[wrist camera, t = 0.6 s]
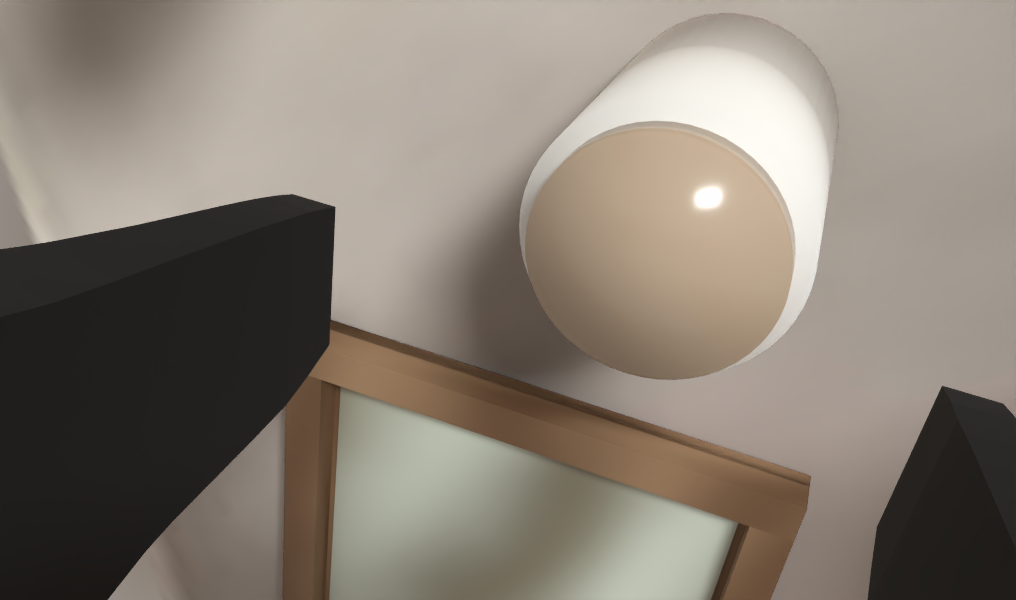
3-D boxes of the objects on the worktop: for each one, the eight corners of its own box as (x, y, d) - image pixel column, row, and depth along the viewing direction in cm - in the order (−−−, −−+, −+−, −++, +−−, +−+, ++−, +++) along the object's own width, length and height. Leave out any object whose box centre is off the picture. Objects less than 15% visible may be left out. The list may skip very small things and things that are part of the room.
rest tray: (810, 475, 22) (806, 508, 21) (681, 800, 28) (674, 837, 27) (311, 314, 25) (286, 335, 24) (301, 642, 31) (281, 670, 30)
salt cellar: (870, 41, 17) (861, 159, 12) (800, 252, 19) (763, 434, 14) (638, -9, 18) (528, 77, 13) (597, 197, 20) (488, 346, 15)
